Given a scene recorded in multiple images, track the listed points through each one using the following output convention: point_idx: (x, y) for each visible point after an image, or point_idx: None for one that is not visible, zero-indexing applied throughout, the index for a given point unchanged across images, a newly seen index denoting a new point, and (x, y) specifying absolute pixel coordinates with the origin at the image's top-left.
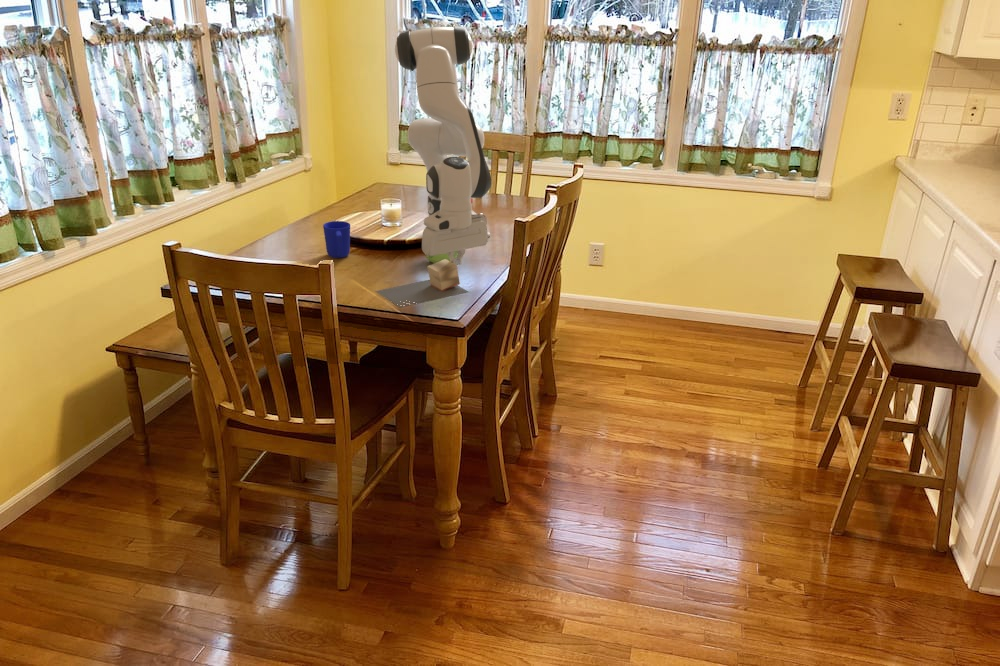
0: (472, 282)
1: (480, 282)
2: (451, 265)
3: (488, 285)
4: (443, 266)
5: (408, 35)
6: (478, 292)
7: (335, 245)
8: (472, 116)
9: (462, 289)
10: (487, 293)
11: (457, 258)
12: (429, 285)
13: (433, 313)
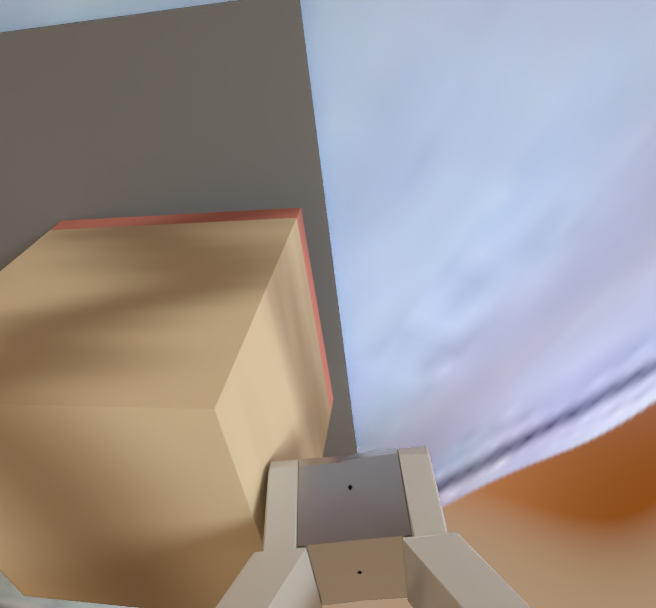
0: (534, 275)
1: (598, 302)
2: (225, 591)
3: (600, 380)
4: (111, 550)
5: None
6: (431, 457)
7: None
8: None
9: (333, 411)
10: (476, 485)
11: (400, 568)
12: (42, 225)
13: (14, 589)
